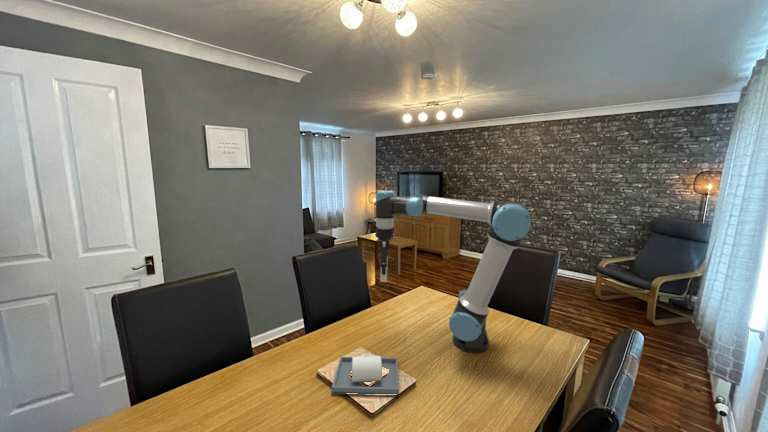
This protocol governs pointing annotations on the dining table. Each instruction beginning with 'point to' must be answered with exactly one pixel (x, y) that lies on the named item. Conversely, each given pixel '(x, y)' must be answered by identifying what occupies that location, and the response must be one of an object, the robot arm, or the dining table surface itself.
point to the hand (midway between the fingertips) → (384, 276)
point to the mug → (366, 368)
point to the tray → (346, 385)
